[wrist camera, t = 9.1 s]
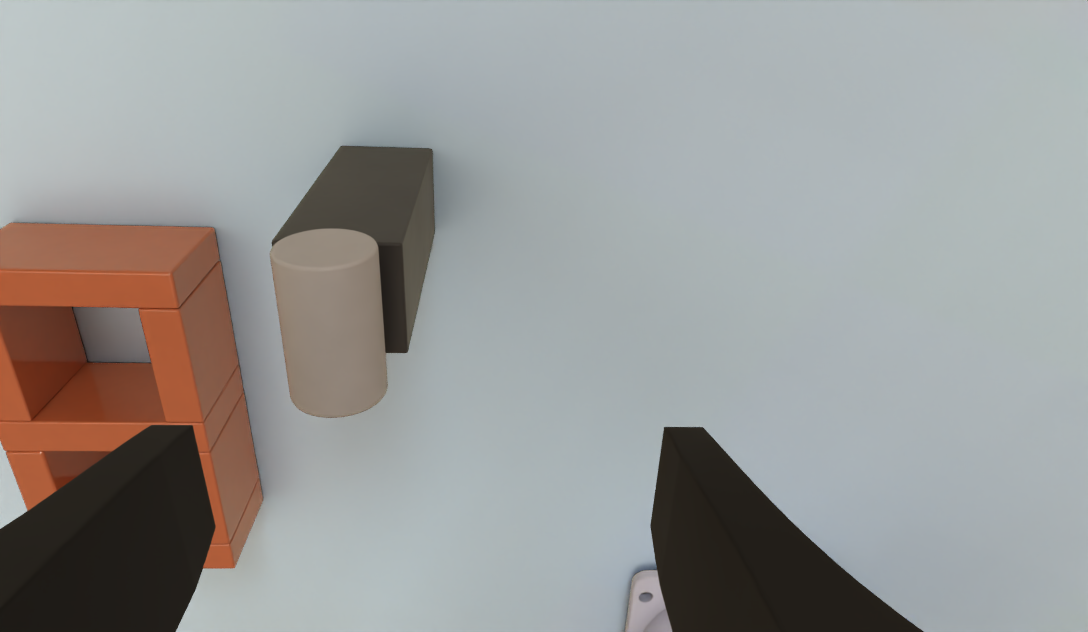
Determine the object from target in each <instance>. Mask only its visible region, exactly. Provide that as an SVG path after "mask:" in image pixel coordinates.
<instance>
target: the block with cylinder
mask: <svg viewBox="0 0 1088 632" xmlns="http://www.w3.org/2000/svg"><path fill="white" fill-rule="evenodd" d="M434 234H435V219H434V184H433V151H432V149H429V148H395V147H361V146H341V147H340V148H339V149H338V151H337V152H336V153H335V155H334V156H333V158H332V159H331V160H330V162H329V163H328V164H327V166H326V167H325V169H324V170H323V171H322V173H321V174H320V175H319V177H318V178H317V180H316V181H315V182H314V184H313V185H312V187H311V188H310V189H309V191H308V192H307V193H306V195H305V196H304V198H303V199H302V200H301V202H300V203H299V204H298V206H297V207H296V209H295V210H294V211H293V213H292V214H291V216H290V217H289V218H288V220H287V221H286V222H285V224H284V225H283V227H282V228H281V229H280V231H279V232H278V234H277V235H276V236H275V238H274V239H273V240H272V249H271V252H270V259H271V266H272V273H273V280H274V287H275V294H276V300H277V307H278V314H279V321H280V328H281V335H282V342H283V349H284V356H285V363H286V370H287V377H288V384H289V391H290V397H291V400H292V402H293V403H294V405H295V406H296V407H297V408H298V409H299V410H301V411H302V412H305V413H307V414H310V415H313V416H317V417H326V418H337V417H345V416H350V415H354V414H358V413H361V412H363V411H365V410H368V409H370V408H371V407H373V406H374V405H376V404H377V403H378V402H379V401H380V400H381V399H382V398H383V397H384V395H385V393H386V391H387V387H388V382H387V367H386V353H407V352H408V349H409V345H410V340H411V336H412V331H413V327H414V322H415V318H416V314H417V309H418V305H419V300H420V296H421V291H422V287H423V282H424V278H425V274H426V269H427V265H428V260H429V256H430V251H431V247H432V242H433V238H434Z"/></svg>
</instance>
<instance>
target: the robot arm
mask: <svg viewBox="0 0 1088 632" xmlns="http://www.w3.org/2000/svg"><path fill="white" fill-rule="evenodd" d="M215 528H216V525H215V521H214V517H213V512H212V508H211V503H210V499H209V495H208V490H207V486H206V481H205V477H204V473H203V468H202V464H201V459H200V455H199V451H198V446H197V442H196V438H195V433H194V429H193V425H151V426H149V427H147V428H146V429H144V430H143V431H141V432H139V433H138V434H136V435H135V436H133V437H132V438H130V439H129V440H128V441H126V442H125V443H123V444H122V445H120V446H119V447H118V448H116V449H115V450H113V451H112V452H110V453H109V454H108V455H106V456H105V457H103V458H102V459H101V460H99V461H98V462H96V463H95V464H94V465H92V466H91V467H89V468H88V469H87V470H85V471H84V472H82V473H81V474H80V475H78V476H77V477H75V478H74V479H73V480H71V481H70V482H68V483H67V484H66V485H64V486H63V487H61V488H60V489H58V490H57V491H56V492H54V493H53V494H51V495H50V496H48V497H47V498H46V499H44V500H43V501H41V502H40V503H38V504H37V505H36V506H34V507H33V508H31V509H30V510H29V511H27V512H26V513H24V514H23V515H21V516H20V517H18V518H17V519H15V520H13V521H12V522H10V523H9V524H7V525H6V526H4V527H3V528H1V529H0V632H176V630H177V628H178V625H179V623H180V621H181V619H182V617H183V615H184V613H185V611H186V609H187V607H188V605H189V602H190V600H191V598H192V596H193V594H194V592H195V589H196V587H197V584H198V581H199V578H200V575H201V572H202V569H203V566H204V563H205V561H206V557H207V554H208V551H209V548H210V545H211V541H212V538H213V535H214V532H215ZM651 533H652V539H653V546H654V553H655V560H656V566H657V570H645V571H641V572H638V573H637V574H636V575H635V576H634V577H633V579H632V584H631V591H630V598H629V606H628V613H627V620H626V627H625V632H923V631H922V630H921V629H919V628H918V627H916V626H915V625H914V624H912V623H911V622H910V621H908V620H907V619H905V618H904V617H903V616H901V615H900V614H899V613H897V612H896V611H895V610H894V609H892V608H891V607H890V606H888V605H887V604H886V603H885V602H883V601H882V600H881V599H880V598H878V597H877V596H876V595H874V594H873V593H872V592H871V591H869V590H868V589H867V588H866V587H864V586H863V585H862V584H861V583H859V582H858V581H857V580H856V579H854V578H853V577H852V576H851V575H850V574H848V573H847V572H846V571H845V570H844V569H843V568H841V567H840V566H839V565H838V564H837V563H836V562H834V561H833V560H832V559H831V558H830V557H829V556H828V555H827V554H826V553H825V552H823V551H822V550H821V549H820V548H819V547H818V546H817V545H816V544H815V543H814V542H812V541H811V540H810V539H809V538H808V537H807V536H806V535H805V534H804V533H803V532H802V531H801V530H800V529H799V528H797V527H796V526H795V525H794V524H793V523H792V522H791V521H790V520H789V519H788V518H787V517H786V516H785V515H784V514H783V513H782V512H781V511H780V510H779V509H778V508H777V507H776V506H775V505H774V504H773V503H772V502H771V501H770V500H769V498H768V497H767V496H766V495H765V494H764V493H763V492H762V491H761V490H760V489H759V488H758V487H757V486H756V485H755V484H754V483H753V482H752V481H751V479H750V478H749V477H748V476H747V475H746V474H745V473H744V472H743V471H742V470H741V469H740V467H739V466H738V465H737V464H736V463H735V462H734V461H733V460H732V459H731V458H730V456H729V455H728V454H727V453H726V452H725V451H724V450H723V449H722V448H721V447H720V445H719V444H718V443H717V442H716V441H715V440H714V439H713V438H712V437H711V436H710V435H709V433H708V432H707V431H706V430H705V429H704V428H703V427H664V433H663V440H662V447H661V454H660V461H659V469H658V476H657V483H656V490H655V497H654V504H653V512H652V519H651ZM645 592H648V593H645ZM642 593H645V594H642Z"/></svg>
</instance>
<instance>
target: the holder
mask: <svg viewBox="0 0 1088 632" xmlns="http://www.w3.org/2000/svg"><path fill="white" fill-rule="evenodd" d="M219 259H220V257H219V252H218V246H217V241H216V235H215V230H214V228H212V227H171V226H127V225H83V224H39V223H9V224H7V225H6V226H4V227H3V228H1V229H0V441H1V444H2V446H3V449H4V450H5V451H6V455H7V458H8V460H9V463H10V466H11V468H12V471H13V474H14V476H15V479H16V482H17V484H18V487H19V489H20V492H21V495H22V497H23V500H24V503H25V505H26V508H27V511H29V510H30V509H31V508H33V507H34V506H36V505H37V504H38V503H40V502H41V501H43V500H44V499H46V498H47V497H48V496H50V495H51V494H53V493H54V492H56V491H57V490H58V489H60V488H61V487H63V486H64V485H66V484H67V483H68V482H70V481H71V480H73V479H74V478H75V477H77V476H78V475H80V474H81V473H82V472H84V471H85V470H87V469H88V468H89V467H91V466H92V465H94V464H95V463H96V462H98V461H99V460H101V459H102V458H103V457H105V456H106V455H108V454H109V453H110V452H112V451H113V450H115V449H116V448H118V447H119V446H120V445H122V444H123V443H125V442H126V441H128V440H129V439H130V438H132V437H133V436H135V435H136V434H138V433H139V432H141V431H143V430H144V429H146V428H147V427H149V426H151V425H193V429H194V433H195V438H196V442H197V446H198V451H199V455H200V459H201V464H202V468H203V473H204V477H205V481H206V486H207V490H208V495H209V499H210V503H211V508H212V512H213V517H214V521H215V525H216V528H215V532H214V535H213V538H212V541H211V545H210V548H209V551H208V554H207V557H206V561H205V563H204V566H203V568H235V566H236V564H237V561H238V559H239V557H240V554H241V552H242V549H243V547H244V545H245V542H246V540H247V538H248V535H249V533H250V530H251V528H252V526H253V523H254V521H255V518H256V516H257V514H258V511H259V509H260V506H261V504H262V502H263V496H262V491H261V485H260V479H259V474H258V468H257V463H256V457H255V451H254V446H253V440H252V435H251V429H250V424H249V418H248V412H247V407H246V401H245V396H244V392H243V391H244V390H243V384H242V379H241V373H240V368H239V365H238V363H239V362H238V356H237V350H236V345H235V339H234V334H233V328H232V322H231V317H230V311H229V306H228V300H227V295H226V289H225V283H224V278H223V272H222V267H221V262H220V261H219ZM72 307H118V308H139V314H140V318H141V323H142V327H143V331H144V335H145V339H146V343H147V347H148V351H149V355H150V359H151V363H96V362H87V358H86V354H85V351H84V348H83V344H82V341H81V337H80V334H79V330H78V327H77V324H76V320H75V317H74V313H73V310H72Z"/></svg>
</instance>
